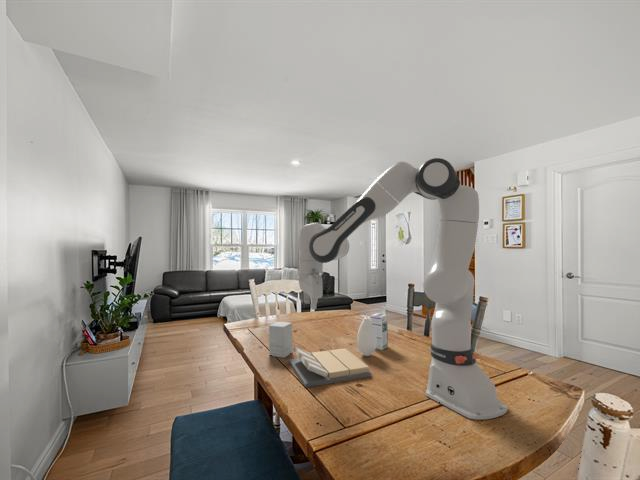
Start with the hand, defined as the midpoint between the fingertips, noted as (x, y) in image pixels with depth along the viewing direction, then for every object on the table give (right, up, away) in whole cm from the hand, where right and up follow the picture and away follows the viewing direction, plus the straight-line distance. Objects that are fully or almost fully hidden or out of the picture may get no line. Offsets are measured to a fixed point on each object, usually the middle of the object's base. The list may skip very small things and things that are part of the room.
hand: (310, 306), depth 109 cm
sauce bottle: (+23, -24, +15) cm, 36 cm away
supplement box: (-13, -24, +17) cm, 32 cm away
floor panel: (+7, -24, +1) cm, 24 cm away
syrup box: (+30, -24, +25) cm, 46 cm away
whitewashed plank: (-1, -20, -1) cm, 20 cm away
